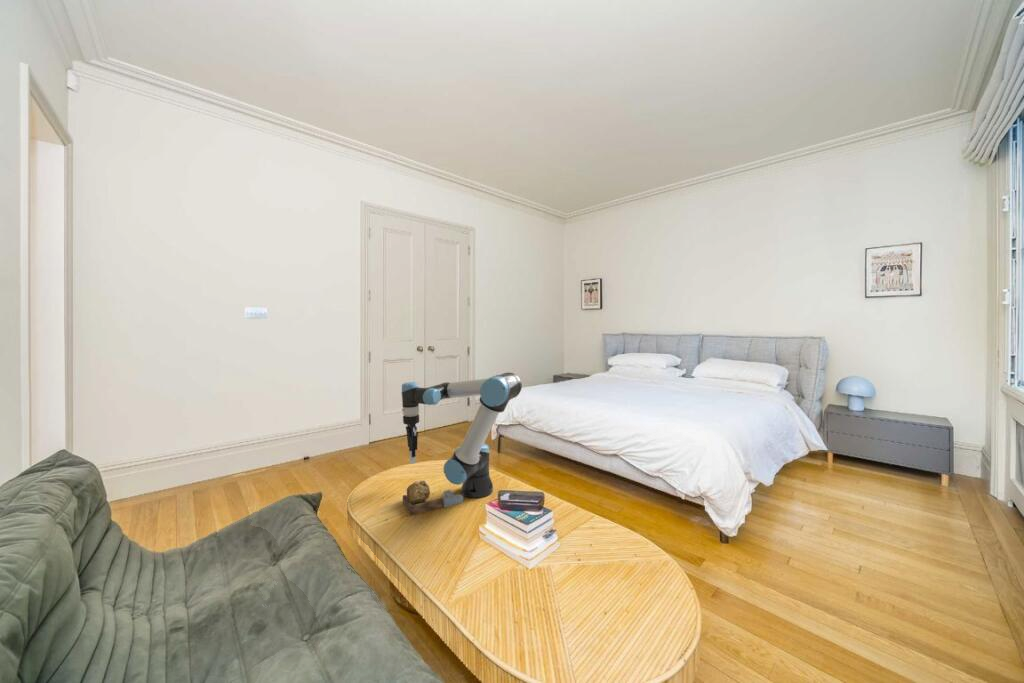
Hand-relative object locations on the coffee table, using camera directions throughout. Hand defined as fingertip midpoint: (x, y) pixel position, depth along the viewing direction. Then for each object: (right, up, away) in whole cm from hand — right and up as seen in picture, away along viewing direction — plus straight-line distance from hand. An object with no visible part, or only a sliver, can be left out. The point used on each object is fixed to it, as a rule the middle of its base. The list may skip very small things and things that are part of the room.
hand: (413, 462), depth 189 cm
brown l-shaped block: (+8, -15, -13) cm, 21 cm away
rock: (+5, -15, -11) cm, 19 cm away
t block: (+19, -15, -9) cm, 26 cm away
